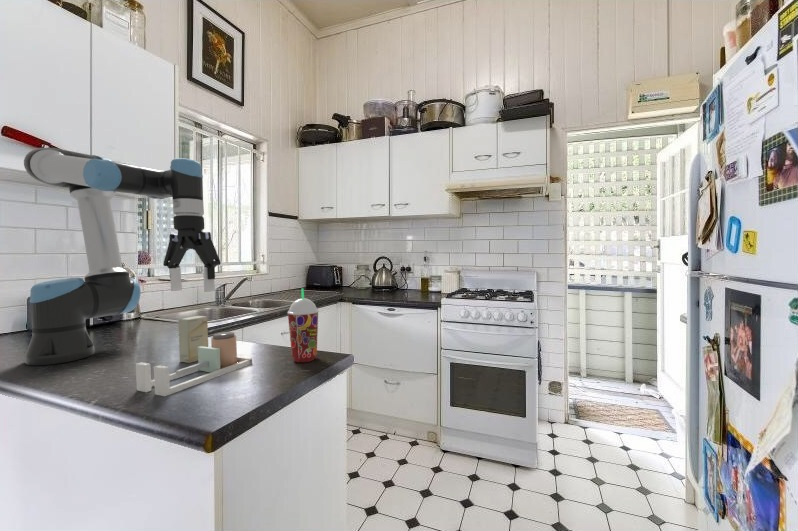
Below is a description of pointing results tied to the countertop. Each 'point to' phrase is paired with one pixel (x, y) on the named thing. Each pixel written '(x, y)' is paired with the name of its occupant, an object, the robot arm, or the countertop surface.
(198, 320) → the skincare box
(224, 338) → the jar
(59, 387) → the countertop surface
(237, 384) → the countertop surface
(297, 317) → the smoothie
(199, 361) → the pusher
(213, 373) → the lane
